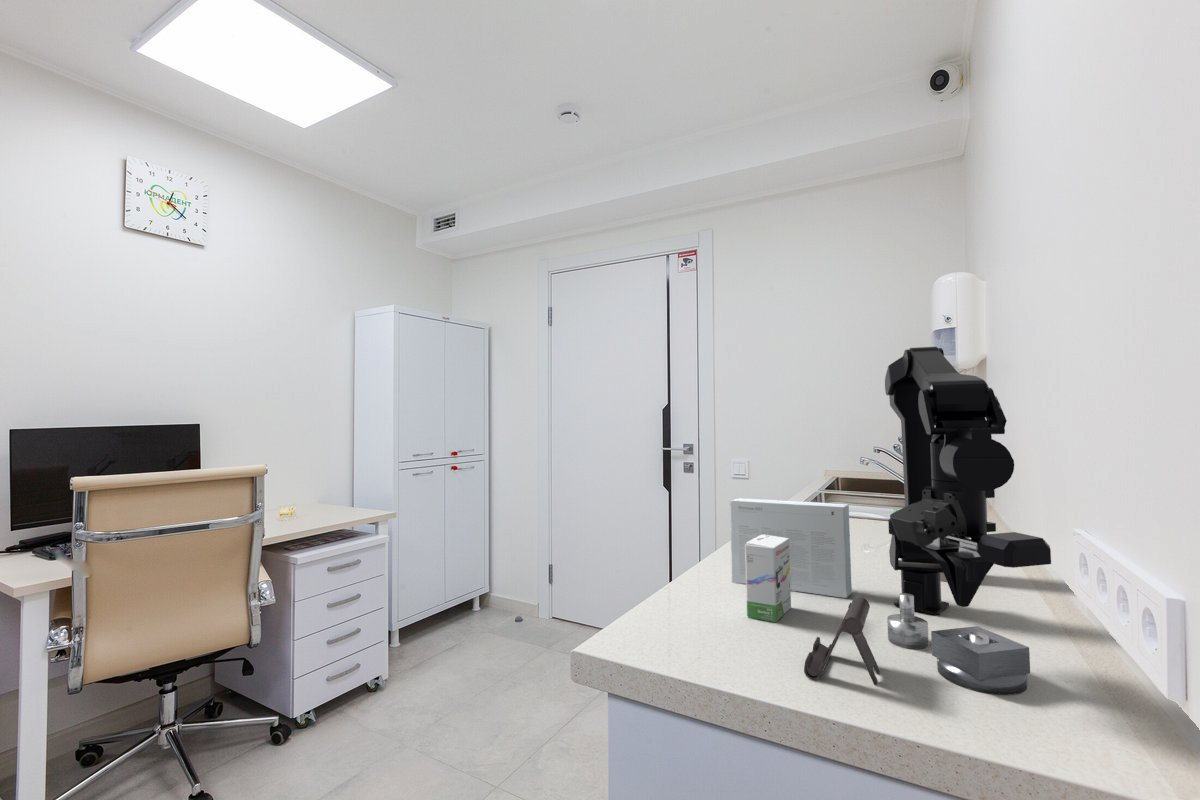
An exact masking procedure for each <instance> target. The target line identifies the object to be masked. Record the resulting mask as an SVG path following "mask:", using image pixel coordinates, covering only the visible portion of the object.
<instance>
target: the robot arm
mask: <svg viewBox="0 0 1200 800" xmlns="http://www.w3.org/2000/svg"><path fill="white" fill-rule="evenodd" d="M884 390H885V395H886V396H889V406H890V407H891V409H892V410H893V412H894V413H895V414H896V415H897V417H898V418H899V419H900V424H901V425H900V426H901V445H902V449H901V450H902V469H903V471H902V472H903V473H902V474H903V490H904V491H903V492H904V507H902V508H901V509H898V510H897V511H895V512H893V513H891V514H890V515H889V519H888V535H891V539H890V546H889V562H890V565H891V567H892V569H893V570H894V571H900V581H901V583H900V584H901V585H900V587H901V593H908V594H912V595H914V611H916V612H921V613H926V614H930V615H936V616H937V615H938V614H940V613H942V612H943V611H944V610H946V609H947V608H949V607H950V603H949V602H947V601H943V600H942V585H941V584H942V583H941V582H942V581H941V579H940V573H944V575H945V577H946V580H947V582H946V583H947V585H948V588H949V590H950V592H951V595H952V597H953V600H954V602H955V604H956V606H958V607H961V608H967V607H969V606H970V605H971V603H972V601H973V599H974V597H975V596H976V594H977V591H978V590H979V589H980V586H981V585H982V583H983V582H984V579H985V577H986V576H987V575H988V573H989V572H990V571H991V569H992V568H993V566H994V565H997V566H1000V567H1004V568H1013V569H1014V568H1015V569H1016V568H1023V567H1025V568H1027V567H1033V566H1034V567H1035V566H1045V565H1052V554H1051V553H1052V551H1051V550H1052V549H1051V547H1050V544H1048V542H1046V540H1045V539H1044V538H1042V537H1039V536H1035V535H1029V534H1026V533H1020V532H1015V531H1011V532H1000V533H994V532H997V523H996V522H992V521H988V508H987V507H988V505H987V504H988V503H987V499H995V496H996V495H995V493H996V491H995V490H996V489H999V488H1001V487H1003V486H1004V485H1006V484H1007V483H1008V481H1010V479H1011V478H1012V476H1013V473H1014V471H1015V460H1014V458H1013V456H1012V454H1011V452H1010V451H1009V450H1008V448H1007V447H1006V446H1005V445H1003V444H1002V443H1001V442H999V441H997V440H995V439H993V438H992V437H993V436H992V435H1005V433H1006V429H1005V427H1006V425H1007V421H1008V420H1007V418H1006V416H1005V413H1004V411H1003V408H1002V406H1001V404H1000V402H999V399H998V397H997V396H996V395H995V392H994V390H993V388H992V387H989V384H988V383H987V381H985V380H984V379H983V378H981V377H979V376H976V375H971V374H963V373H960V372H959V371H957V370H956V368H955V367H954V366H953V365H952V364H951V363H950V361H949V359H947V358H946V357H945V353H944V349H943V348H942V347H938V346H924V347H923V346H921V347H919V346H918V347H909V349H905V350H904V352H903V355H902V356H901V357H899V358H898V359H896V360H895V361H893V362H892V363H890V364H889V365H888V367H887V370H886V374H885V377H884ZM932 435H933V437H932ZM952 534H954V535H952ZM966 537H969V539H968V538H966ZM893 606H895V607H899V608H900V603H899V599H897V600H896V601H893Z"/></svg>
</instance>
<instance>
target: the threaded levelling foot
mask: <svg viewBox="0 0 1200 800" xmlns="http://www.w3.org/2000/svg"><path fill="white" fill-rule="evenodd" d="M898 596H899V599H898V600H899V603H900V607H899V613H893V614H889V615H888V616H887V620H886V621H887V622H886V623H887V640H888V642H889V643H891V644H892V645H894V646H897V647H901V648H903V649H904V648H905V649H909V650H910V649H911V650H922V649H927V648H928V647H929V622H928V621H927V620H926V619H924V618H922V617H919V616H915V610H914V595H912V594H908V593H902V592H900V593H898Z"/></svg>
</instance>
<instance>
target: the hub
mask: <svg viewBox="0 0 1200 800" xmlns="http://www.w3.org/2000/svg"><path fill="white" fill-rule="evenodd" d="M969 641H971V642H973V643H975V644H977V645H983V644H989V636H988V635H987V634H984V633H980V632H970V633H969ZM936 667H937V672H938V673H939V675H940V676H941V677H943V678H944V679H945V680H947V681H949V682H950V683H952V684H955V685H957V686H960V687H961V688H965V689H967V690H972V691H976V692H980V693H985V694H991V695H998V696H1003V695H1004V696H1010V695H1013V696H1014V695H1019V694H1021V693H1024V692H1025V691H1027V688H1028V678H1027V677H1028V674H1023V675H1015V676H1008V677H1000V678H993V679H985V680H978V679H976V678H975V677H973V676H971V675H969V674H967V673H965V672H963V671H961V670H959V669H957V668H955V667H954V666H952V665H950V664H948V663H946V662H944V661H942V660H940V659H938V658H936Z"/></svg>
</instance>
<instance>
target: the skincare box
mask: <svg viewBox="0 0 1200 800" xmlns="http://www.w3.org/2000/svg"><path fill="white" fill-rule="evenodd" d="M729 506H730V507H729V509H730V511H729V513H730V551H731V552H730V553H731V554H730V555H731V558H730V559H731V582H732V583H735V584H742V585H746V562H745V544H747V543H746V542H748V541H750V540H752V539H754V538H756V537H758V536H760V535H771V536H777V537H784V538H789V544H790V585H791V592H798V593H799V592H800V593H807V594H814V595H821V596H830V597H836V598H843V599H848V597H849V596H850V595H851V593H852V590H853V588H852V564H851V561H852V559H851V558H852V557H851V537H850V508H849V506H850V505H849V504H847V503H833V502H832V503H829V502H819V501H817V502H816V501H815V502H814V501H796V500H780V499H761V498H758V499H757V498H743V497H742V498H741V497H739V498H735V499H732V500H730V501H729Z"/></svg>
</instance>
